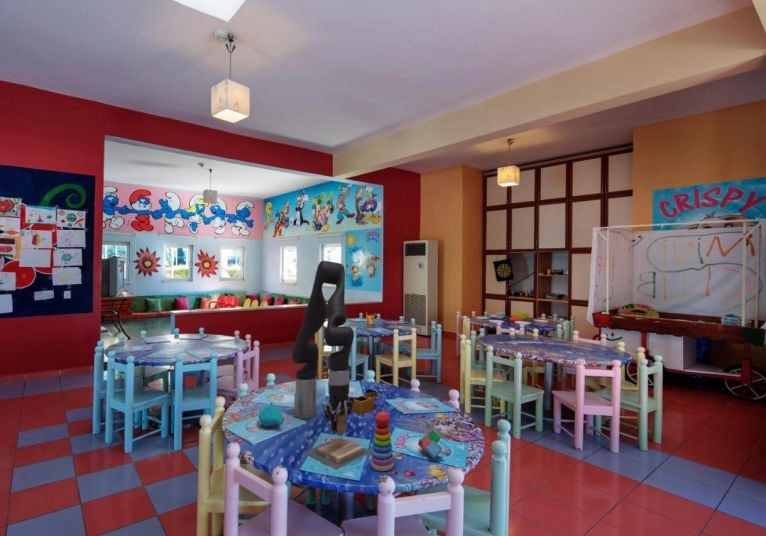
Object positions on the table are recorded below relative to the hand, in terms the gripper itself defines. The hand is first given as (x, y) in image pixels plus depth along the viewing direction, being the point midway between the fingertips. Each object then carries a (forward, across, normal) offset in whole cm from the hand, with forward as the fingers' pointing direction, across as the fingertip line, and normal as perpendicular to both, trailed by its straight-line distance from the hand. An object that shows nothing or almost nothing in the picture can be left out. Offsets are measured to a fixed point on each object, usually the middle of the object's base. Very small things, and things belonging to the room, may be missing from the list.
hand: (338, 428), depth 149 cm
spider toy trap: (+9, -41, -24) cm, 48 cm away
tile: (+8, 0, -5) cm, 9 cm away
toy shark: (+9, +2, -39) cm, 40 cm away
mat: (+9, 0, 0) cm, 9 cm away
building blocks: (+10, -24, +25) cm, 36 cm away
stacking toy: (+10, -4, +18) cm, 21 cm away
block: (+1, 0, 0) cm, 1 cm away
